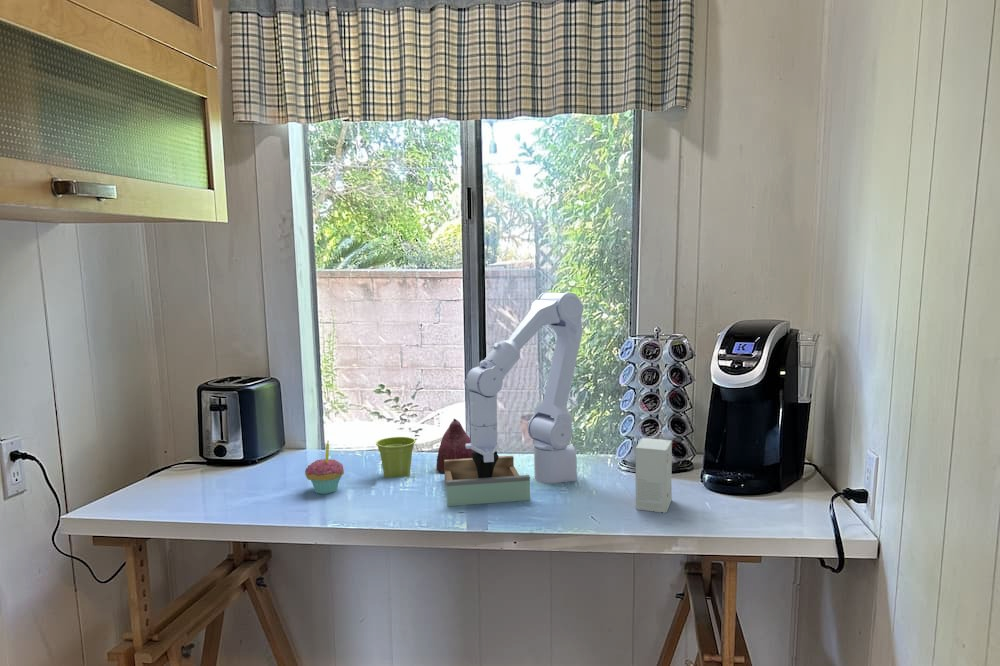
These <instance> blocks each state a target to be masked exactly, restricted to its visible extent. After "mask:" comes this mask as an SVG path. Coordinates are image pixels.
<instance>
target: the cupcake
mask: <svg viewBox="0 0 1000 666" xmlns="http://www.w3.org/2000/svg"><path fill="white" fill-rule="evenodd" d="M329 454H330V442H329V441H327V443H326V444H325V458H323V459H316V460H315V461H313V462H312V463H310V464H308V466H307V467H306V469H305V470H304V474H305V478H307V480H308V481H311V483H312V486H313V489H314V491H315V493H316V494H319V495H326V494H331V493H335V492H336V491H337V490H338V487H339V483H340V480H341V478H342V476H343V475H344V473H345V469H344V466H343V463H341V462H340V461H338V460H336V459H329V458H330V456H329Z"/></svg>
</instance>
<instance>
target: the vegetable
mask: <svg viewBox="0 0 1000 666" xmlns="http://www.w3.org/2000/svg"><path fill="white" fill-rule="evenodd" d="M467 443H471V437H470V436H469V435H468V434H467V432H466V431H465V429H464V428H463V426H462V424H461V422H460V421H459V420H457V419H456V418H453V419H452V421H451V422H450V424H449V426H448V428H447V429H446V431H445V432H444V434H443V436H442V438H441V440H440V445H439V448H438V451H437V452H438V453H437V457H436V464H435V465H436V472H438V473H440V474H444V475H445V471H444V460H451V459H467V458H472V456H471V452H476V451H474V450H472V449H466V447H465V444H467Z"/></svg>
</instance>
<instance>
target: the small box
mask: <svg viewBox="0 0 1000 666" xmlns="http://www.w3.org/2000/svg"><path fill="white" fill-rule="evenodd" d="M672 447H673V441H672V440H669V439H661V438H659V439H658V438H646V437H643V438H641V440H640V441H639V442H638V443H637V445H636V446H635V449H634V451H635V510H637V509H638V511H646V512H647V511H648V512H653V511H654V512H655V513H661V512H663V513H662V514H666V513H667V512H668V509H669V507H670V505H671V502H672V501H673V500H672V499H673V497H672V494H673V493H672V490H673V489H672V486H673V485H672V474H673V473H672V471H673V470H672V468H673V467H672V466H673V460H672V458H673V457H672V455H673V452H672V449H673V448H672Z"/></svg>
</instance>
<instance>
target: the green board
mask: <svg viewBox="0 0 1000 666" xmlns="http://www.w3.org/2000/svg"><path fill="white" fill-rule="evenodd" d="M446 485H447V488H446V506H447V507H453V506H454V507H455V506H468V505H469V506H470V505H482V504H495V503H509V502H510V503H511V502H521V501H530V500H531V476H530V475H529V474H523V475H520V476H506V477H491V478H476V479H461V480H446V483H445V486H446Z"/></svg>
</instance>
